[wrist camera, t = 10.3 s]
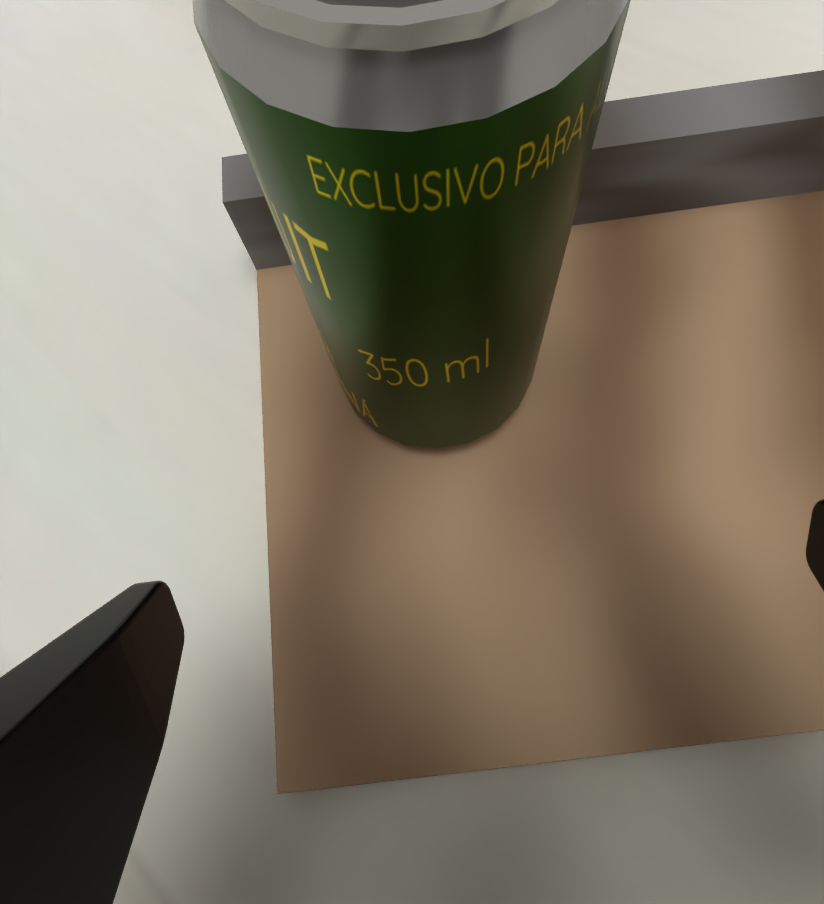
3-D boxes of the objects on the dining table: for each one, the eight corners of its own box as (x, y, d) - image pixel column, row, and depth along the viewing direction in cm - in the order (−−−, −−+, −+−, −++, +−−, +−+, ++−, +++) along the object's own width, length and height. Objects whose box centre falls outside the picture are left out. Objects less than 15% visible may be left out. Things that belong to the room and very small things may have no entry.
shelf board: (875, 151, 20) (964, 41, 17) (1119, 689, 15) (1328, 697, 11) (262, 238, 21) (221, 148, 17) (286, 788, 16) (235, 824, 12)
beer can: (491, 264, 19) (543, -333, 8) (561, 421, 17) (763, -56, 6) (320, 319, 19) (115, -212, 7) (374, 484, 17) (209, 113, 6)
